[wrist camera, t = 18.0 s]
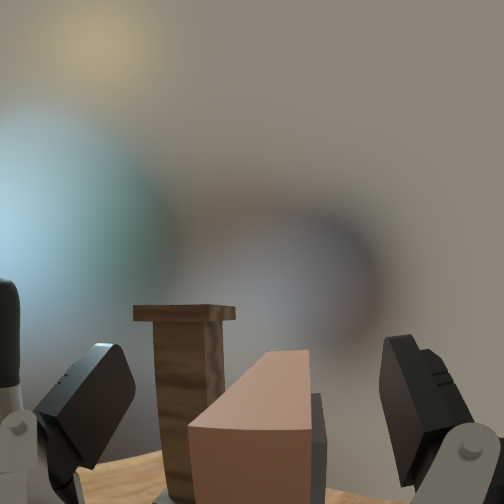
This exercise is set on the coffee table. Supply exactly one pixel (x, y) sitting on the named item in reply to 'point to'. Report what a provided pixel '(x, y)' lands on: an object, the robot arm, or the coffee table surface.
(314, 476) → the grey rectangular block
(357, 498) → the coffee table surface
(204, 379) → the shelf stand
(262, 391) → the brick
